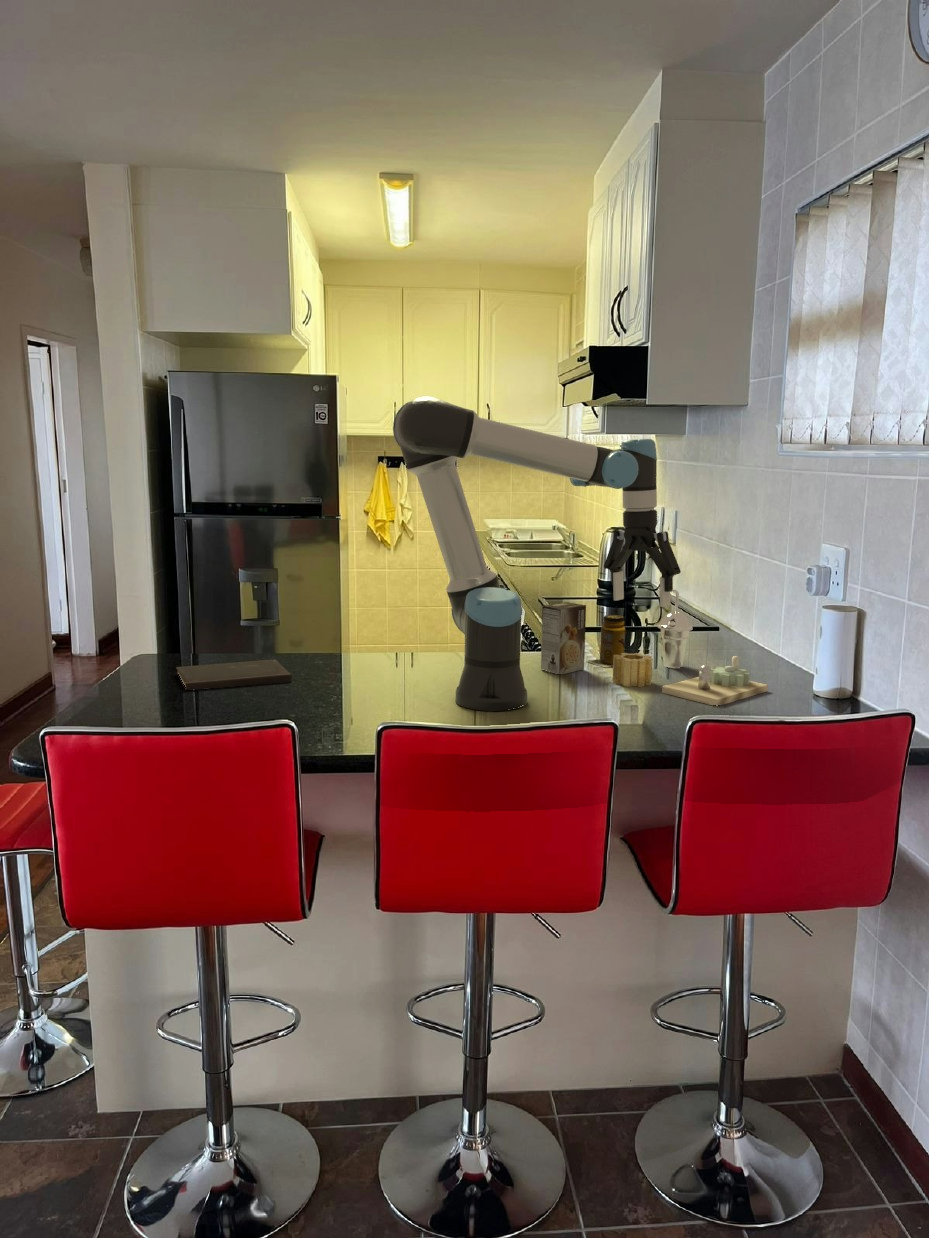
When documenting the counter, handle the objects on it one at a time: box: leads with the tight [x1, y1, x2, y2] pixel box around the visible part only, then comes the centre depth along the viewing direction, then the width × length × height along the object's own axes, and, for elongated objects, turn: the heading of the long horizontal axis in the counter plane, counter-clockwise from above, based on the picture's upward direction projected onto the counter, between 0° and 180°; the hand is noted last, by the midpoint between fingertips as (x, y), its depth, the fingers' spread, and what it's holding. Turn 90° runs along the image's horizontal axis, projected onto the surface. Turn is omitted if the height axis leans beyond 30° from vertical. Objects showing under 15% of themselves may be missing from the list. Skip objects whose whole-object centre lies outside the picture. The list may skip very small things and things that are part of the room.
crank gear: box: [710, 655, 751, 687], centre depth 204 cm, size 9×9×6 cm
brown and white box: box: [540, 601, 587, 675], centre depth 217 cm, size 9×6×16 cm
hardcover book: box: [176, 658, 292, 691], centre depth 206 cm, size 16×23×2 cm
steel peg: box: [698, 664, 712, 690], centre depth 197 cm, size 3×3×5 cm
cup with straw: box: [656, 586, 693, 669], centre depth 223 cm, size 8×9×20 cm
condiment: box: [587, 614, 626, 668], centre depth 226 cm, size 7×8×12 cm
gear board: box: [661, 676, 769, 707], centre depth 201 cm, size 20×14×2 cm
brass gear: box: [612, 652, 654, 688], centre depth 208 cm, size 9×9×6 cm
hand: (641, 602), depth 206 cm, fingers open, 13 cm apart
